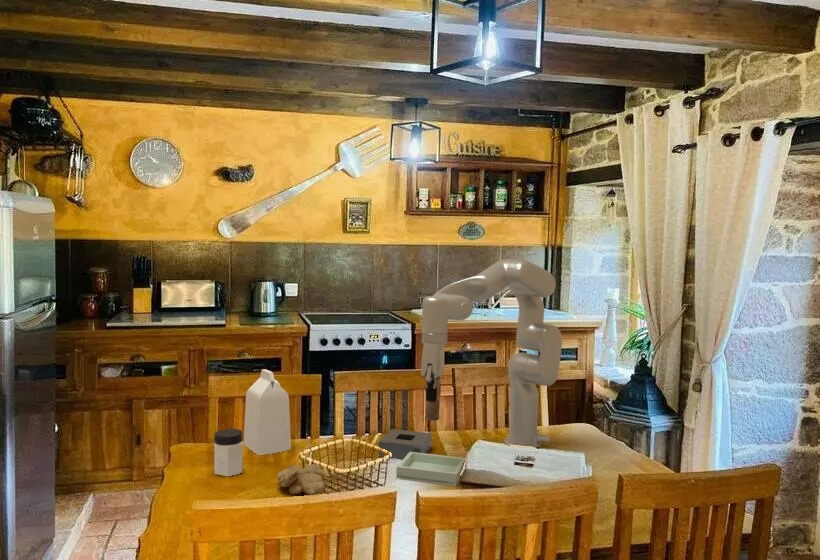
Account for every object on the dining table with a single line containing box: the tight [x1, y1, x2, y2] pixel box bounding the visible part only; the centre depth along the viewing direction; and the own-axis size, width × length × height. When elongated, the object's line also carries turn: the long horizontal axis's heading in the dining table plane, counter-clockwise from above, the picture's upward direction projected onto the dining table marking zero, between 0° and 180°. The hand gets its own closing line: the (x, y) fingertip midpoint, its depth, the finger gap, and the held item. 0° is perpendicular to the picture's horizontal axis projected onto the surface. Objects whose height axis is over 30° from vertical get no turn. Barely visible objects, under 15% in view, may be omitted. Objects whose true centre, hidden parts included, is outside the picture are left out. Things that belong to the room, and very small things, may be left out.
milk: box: [243, 368, 292, 456], centre depth 217 cm, size 12×12×26 cm
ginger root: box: [276, 463, 327, 496], centre depth 184 cm, size 16×16×8 cm
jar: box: [213, 428, 244, 477], centre depth 196 cm, size 9×8×12 cm
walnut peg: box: [425, 378, 441, 422], centre depth 196 cm, size 4×4×12 cm
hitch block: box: [378, 428, 433, 460], centre depth 216 cm, size 14×14×5 cm
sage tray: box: [395, 452, 467, 487], centre depth 197 cm, size 18×14×4 cm
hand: (433, 398), depth 196 cm, fingers closed on walnut peg, 4 cm apart
